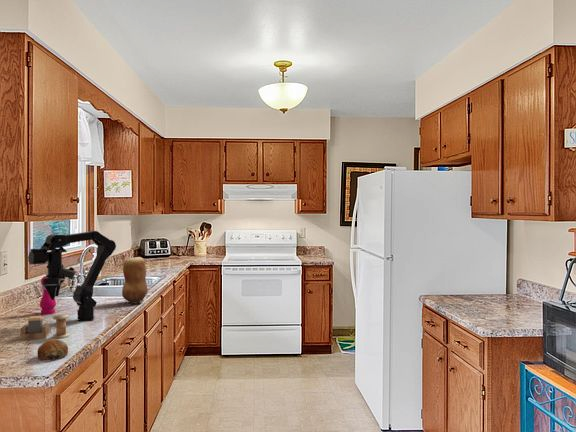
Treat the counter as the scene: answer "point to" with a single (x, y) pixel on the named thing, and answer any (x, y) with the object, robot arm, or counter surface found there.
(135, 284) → the butternut squash
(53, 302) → the pepper mill
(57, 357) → the bread roll
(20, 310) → the counter surface
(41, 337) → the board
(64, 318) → the door knob
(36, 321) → the block
